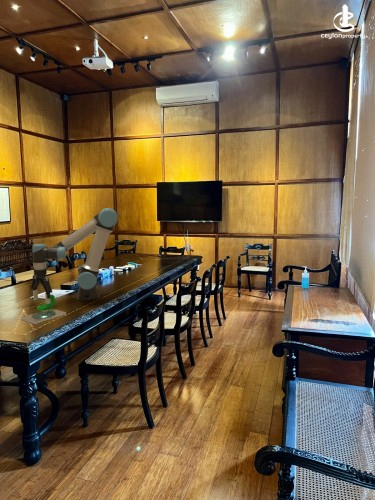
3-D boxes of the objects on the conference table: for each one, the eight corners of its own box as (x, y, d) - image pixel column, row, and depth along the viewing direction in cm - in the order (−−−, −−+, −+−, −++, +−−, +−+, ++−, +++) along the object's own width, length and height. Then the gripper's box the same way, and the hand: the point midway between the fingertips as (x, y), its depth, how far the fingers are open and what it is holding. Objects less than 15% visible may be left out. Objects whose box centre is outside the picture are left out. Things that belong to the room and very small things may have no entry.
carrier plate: (52, 310, 216) (52, 308, 216) (66, 314, 208) (65, 312, 207) (21, 319, 200) (20, 317, 200) (34, 324, 192) (34, 321, 191)
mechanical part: (47, 305, 228) (46, 293, 227) (55, 305, 226) (54, 293, 225) (34, 310, 216) (33, 298, 215) (43, 311, 215) (42, 298, 214)
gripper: (23, 267, 222) (25, 299, 225) (46, 272, 208) (47, 306, 211) (34, 265, 228) (36, 297, 231) (57, 270, 214) (58, 303, 217)
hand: (41, 301), depth 221 cm, fingers open, 13 cm apart
